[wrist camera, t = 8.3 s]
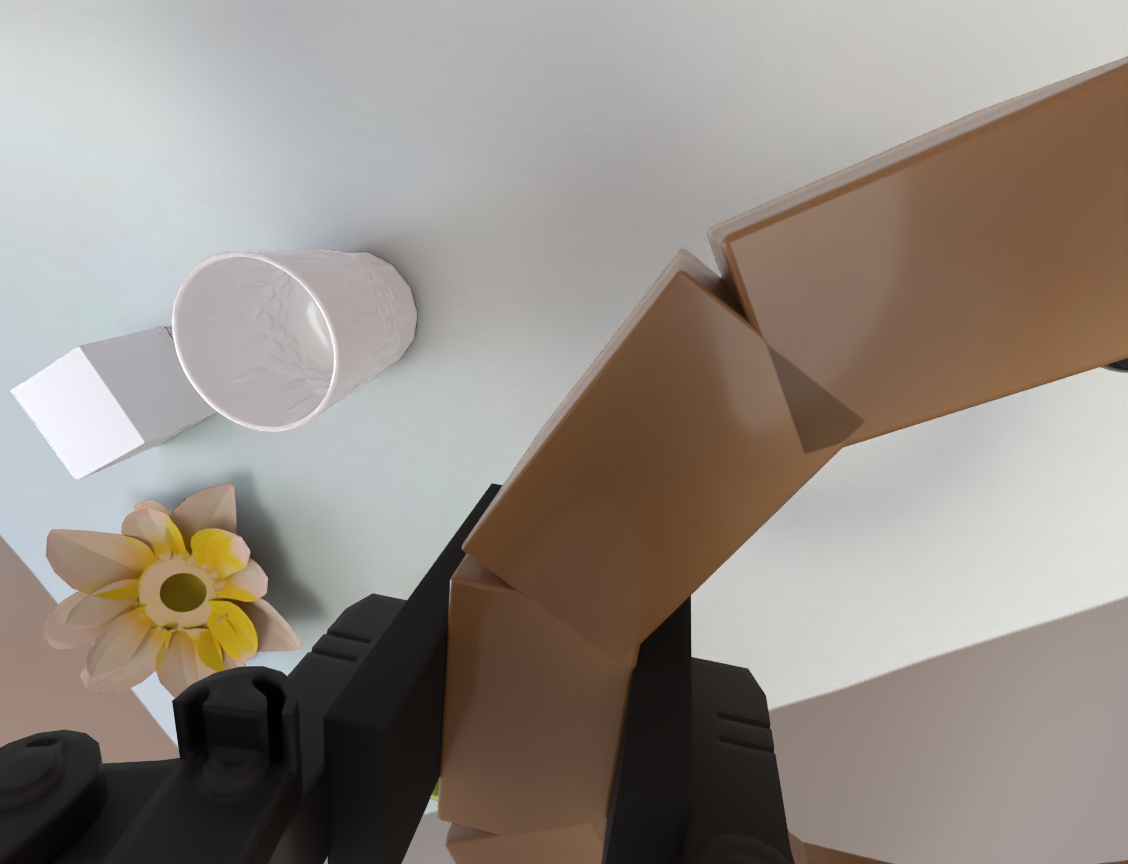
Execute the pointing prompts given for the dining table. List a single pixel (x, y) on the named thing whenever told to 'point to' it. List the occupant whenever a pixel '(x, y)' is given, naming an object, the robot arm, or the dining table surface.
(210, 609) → the decorative flower
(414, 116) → the dining table surface
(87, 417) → the white cube
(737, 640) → the dining table surface
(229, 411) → the white cup
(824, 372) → the ring
